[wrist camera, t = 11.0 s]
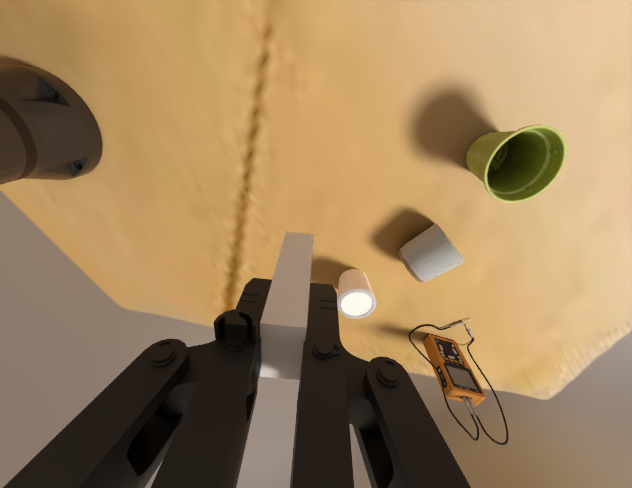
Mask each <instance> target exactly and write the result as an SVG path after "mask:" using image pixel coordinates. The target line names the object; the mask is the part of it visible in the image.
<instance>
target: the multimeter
mask: <svg viewBox="0 0 632 488" xmlns="http://www.w3.org/2000/svg"><path fill="white" fill-rule="evenodd" d="M469 320H471V319H469ZM469 320H466V321H469ZM466 321H463V322H466ZM463 322H462V321H461V322H458V323H455V324H453V325H450V326H449V327H446V328H443V329H439V328H437V327H435V326H433V325H422V326H419V327H417V328H415V329H414V330H413V331H415V330H416V329H418V328H420V327H423V326H432V327H435V328H437V329H438V330H444V329H447V328H450V327H454V326H457V325H460V324H463ZM466 327H467V325H466ZM413 331H411V332H410V333H409V335H408V336H409V340H410V341H411V339H410V334H411V333H412V332H413ZM467 331H468V332H469V334H470V336H471V337H472V338H473V340H472V342H473V341H474V337H473V334H472V333H471V331H470V329H468V327H467ZM472 342H471V343H472ZM411 343H412V341H411ZM471 343H470V344H471ZM412 344H413V343H412ZM423 344H424V347H425V349H426V352H427V354H428V357H429V359H430V361H429V360H428V359H427V358H426V357H425V356H424V355H423V354H422V353H421V352H420V351H419V350H418V349H417V348H416V346H415V345H414V344H413V346H414V347H415V348H416V349H417V350H418V351H419V352H420V354H421V355H422V356H423V357H424V358H425V359H426V360H427V361H428V362H429V363H430V364H431V365H432V367H433V369H434V372H435V374H436V377H437V379H438V381H439V384H440V386H441V389H442V391H443V394H444V398H445V401H446V404H447V407H448V409H449V411H450V412H451V414H452V415H453V417H454V418H455V419H456V421H457V422H458V423H459V424H460V425H461V426H462V424H461V423H460V422H459V421H458V420H457V418H456V417H455V416H454V414H453V413H452V411H451V409H450V408H449V405H448V403H447V400H446V398H449V399H453V400H458V401H462V402H464V403H465V406H466V407H467V408H468V410H469V413H470V414H471V416H472V418H473V420H474V422H475V425H476V427H477V438H476V439H474V438H473V437H472V436H471V434H470V433H469V432H468V431H467V430H466V429H465V428H464V427H463V426H462V428H463V429H464V430H465V431H466V432H467V433H468V434H469V435H470V436H471V438H472V439H473V440H475V441H476V440H478V438H479V429H478V426H477V423H476V421H475V419H474V417H473V415H472V412H471V410H470V408H469V405H470V407H471V408H472V409H473V412H474V414H475V416H476V417H477V419H478V421H479V423H480V425H481V427H482V429H483V430H484V432H485V433H486V435H487V436H488V437H489V438H490V439H491V440H492V441H494V442H495V443H497V444H500V445H505V444H507V442H508V430H507V425H506V421H505V417H504V414H503V411H502V408H501V406H500V403H499V401H498V398H497V396H496V394H495V392H494V390H493V388H492V387H491V385H490V383H489V382H488V380H487V379H486V377H485V376H484V374H483V373H482V371H481V370H480V368H479V367H478V365H477V363H476V362H475V360H474V359H473V357H472V355H471V353H470V352H469V349H468V346H469V345H470V344H468V346H467V349H468V352H469V354H470V356H471V358H472V359H473V361H474V362H475V364H476V366H477V367H478V369H479V370H480V372H481V373H482V375H483V376H484V378H485V379H486V381H487V382H488V384H489V386H490V387H491V389H492V391H493V393H494V395H495V397H496V399H497V402H498V404H499V407H500V409H501V412H502V415H503V419H504V422H505V427H506V433H507V435H506V436H507V438H506V441H505V442H504V443H499V442H497V441H495V440H494V439H492V438H491V437H490V436H489V435H488V434H487V432H486V431H485V429H484V428H483V426H482V424H481V422H480V420H479V418H478V415H477V413H476V411H475V409H474V405H478V404H479V403H480V402H481V401H483V400H484V399H485V398H486V396H485V394H484V392H483V390H482V388H481V386H480V385H479V383H478V381H477V379H476V377H475V375H474V374H473V372H472V370H471V368H470V366H469V364H468V363H467V361H466V359H465V357H464V356H463V354H462V352H461V350H460V348H459V347H458V345H457V343H456V342H455V341H453V340H448V339H444V338H441V337H437V336H433V335H431V334H429V335H428V336H427V337H426V339H425V340H424V341H423ZM468 403H469V404H468Z"/></svg>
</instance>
